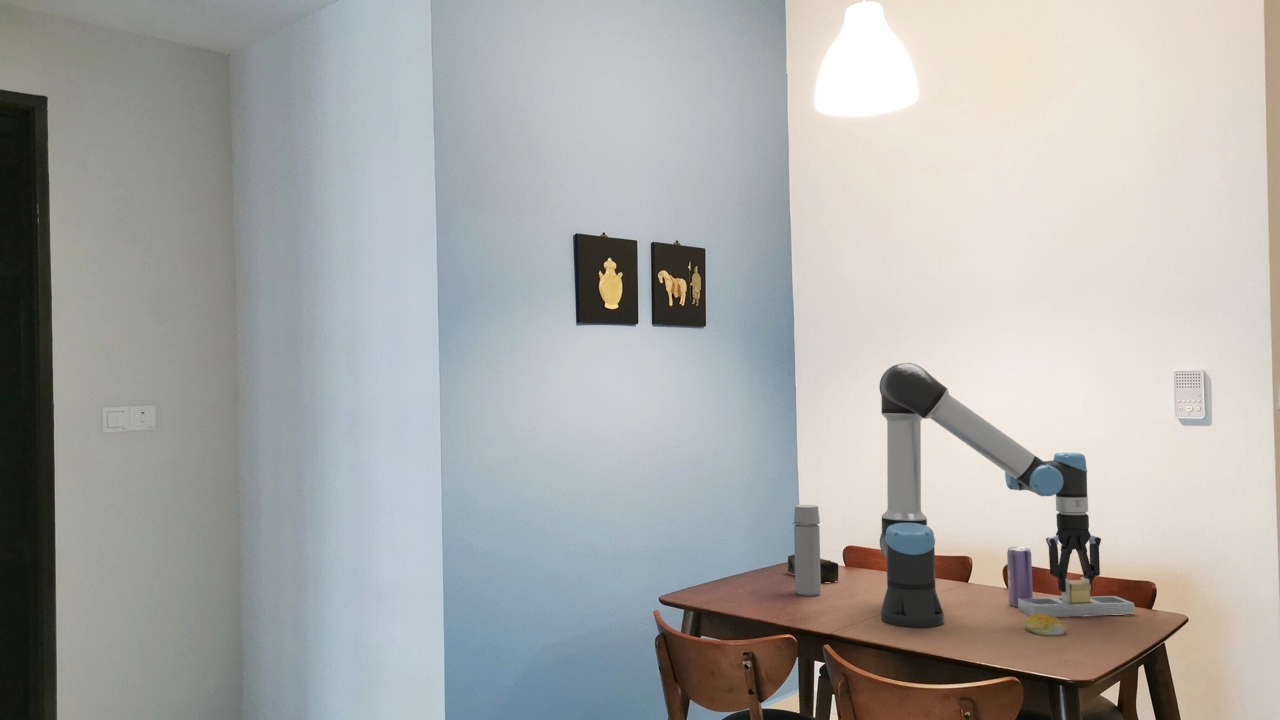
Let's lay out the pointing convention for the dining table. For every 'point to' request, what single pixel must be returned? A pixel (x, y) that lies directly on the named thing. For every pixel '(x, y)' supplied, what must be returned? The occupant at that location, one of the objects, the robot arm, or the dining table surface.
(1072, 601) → the pale yellow block
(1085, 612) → the grey compartment tray
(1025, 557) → the beverage can
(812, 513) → the water bottle
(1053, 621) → the bread roll
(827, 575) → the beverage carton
